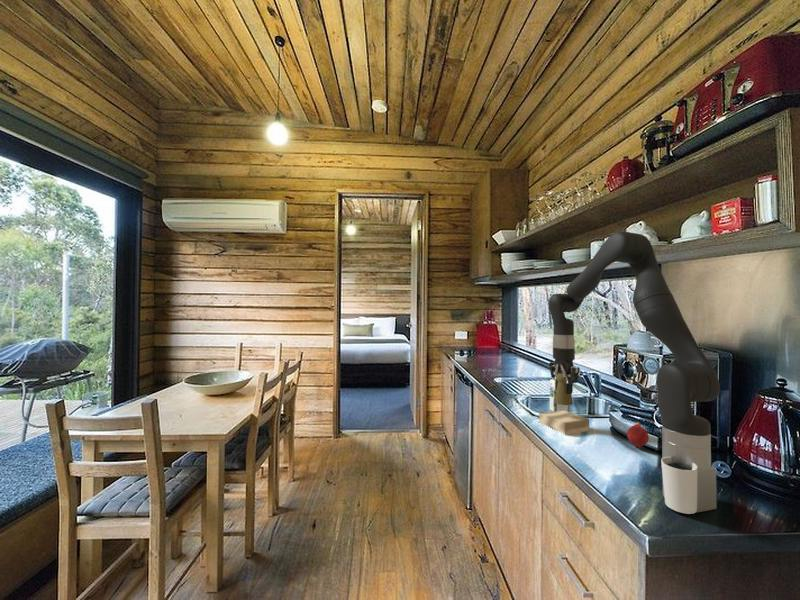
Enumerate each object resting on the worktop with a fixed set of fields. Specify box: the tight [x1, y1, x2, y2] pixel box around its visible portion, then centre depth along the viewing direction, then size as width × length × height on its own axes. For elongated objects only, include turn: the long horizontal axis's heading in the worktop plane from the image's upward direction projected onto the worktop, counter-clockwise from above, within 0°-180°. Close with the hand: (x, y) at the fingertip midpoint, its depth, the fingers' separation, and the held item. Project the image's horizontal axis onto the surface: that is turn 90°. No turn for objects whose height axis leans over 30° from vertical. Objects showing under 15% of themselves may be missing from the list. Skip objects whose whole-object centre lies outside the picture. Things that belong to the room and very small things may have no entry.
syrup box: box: [549, 378, 569, 412], centre depth 149 cm, size 6×6×14 cm
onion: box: [626, 422, 649, 448], centre depth 114 cm, size 6×6×8 cm
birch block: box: [538, 410, 590, 435], centre depth 132 cm, size 12×12×5 cm
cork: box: [555, 373, 573, 406], centre depth 132 cm, size 6×6×11 cm
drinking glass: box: [660, 457, 698, 515], centre depth 81 cm, size 7×7×10 cm
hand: (563, 391), depth 132 cm, fingers closed on cork, 4 cm apart
